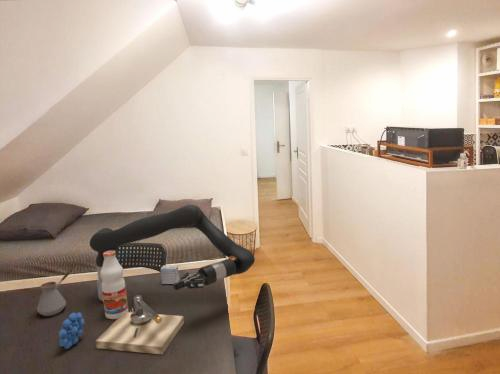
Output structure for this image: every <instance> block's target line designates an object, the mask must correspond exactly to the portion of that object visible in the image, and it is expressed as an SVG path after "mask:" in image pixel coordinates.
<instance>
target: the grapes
mask: <svg viewBox="0 0 500 374" xmlns="http://www.w3.org/2000/svg"><path fill="white" fill-rule="evenodd" d="M82 314H83V313H81V312H77V313H76V312H71V313H70V314H69V316H68V318H66V319H64V320H63V322H62V323H61V324H62V328H61V329H60V330H59V332H58V337H59V343H58V344H59V346H60V347H64V349H65V350H68V349H70V348H71V347H72V346H74V345H77V344H78V341H79V337H80V336H81V335H83V333H84V329H83V326H84V325H85V319H84V318H82V317H83V315H82Z"/></svg>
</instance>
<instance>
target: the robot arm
mask: <svg viewBox="0 0 500 374" xmlns="http://www.w3.org/2000/svg"><path fill="white" fill-rule="evenodd" d="M188 226H192V227H194V228H196V229H198V231H200V232H201V233H202V234H203V235H204V236H205V237H206V238H207V239H208V240H209V241H210V243H211V244H212V245H213V246H214V247H215V248H216V249H217V251H219V252H221V254H223V255H224V256H225V257H226V258H227V259H223V260H221V261H217V262H213V263H210V264H207V265H204V266H201V267H200V268H199V269H198V271H197V272H193V273H189V271H187V272H185V273H184V274H183V276H181V277H180V280H179V282H177V283H174V284H173V285H172V286H173V289H174V290H175V291H178V290H181V289H183V288H185V289H186V288H187V290H189V289H191V290H192V289H203V288H204V286H210V285H213V284H215V283H217V282H219V281H222V280H224V279H226V278H228V277H231V276H233V275H241V274H244V273H245V272H247V271H248V270H249V269H251V267H252V266H253V265H254V263H255V260H256V259H255V256H254V254H253V253H252V251H250V250H248V249H247V248H245V247H243V246H242V245H239V244H238V243H235V241H234V240H233V239H232V238H231V237H229V236H228V235H226V233H224V232H223V231H222V230H220V228H218V226H216V225H215V224H214V223H213V222H212V221H211V220H210V218H208V216H206V215H205V213H204V212H203V210H202V209H201V208H200V207H199V206H198V205H196V204H195V205H194V204H186V205H184V206H181V207H179V208H177V209H175V210H171V211H169V212H165V213H159V214H155V215H150V216H147V217H143V218H140V219H137V220H134V221H132V222H129V223H128V224H126V225H123V226H121V227H119V228H117V229H111V228H109V227H104V228H101V229H99V230H98V231H97V232H95V233H94V234H93V235H92V236H91V238H90V240H89V247H90V249H92V250H93V251H94V252H97V256H96V259H95V265H96V270H97V271H96V272H97V280H96V288H97V294H98V300H99V301H101V302H103V295H102V286H101V285H102V279H101V276H100V271H101V269H102V266H103V262H104V257H103V253H104V252H106V251H110V250H114V251H115V252H116V256H115V257H116V258H117V259H118V257H119V248H118V247H119V246H122V245H127V244H130V243H134V242H139V241H142V240H146V239H150V238H154V237H157V236H159V235H161V234H163V233H165V232H167V231H170V230H173V229H176V228H181V227H188ZM230 257H233V258H235V259H231V258H230Z"/></svg>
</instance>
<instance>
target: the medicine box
mask: <svg viewBox="0 0 500 374" xmlns="http://www.w3.org/2000/svg"><path fill="white" fill-rule="evenodd" d="M160 277H161V285H162V284H174V283H177V282H180V273H179V265H177V264H176V265H174V264H173V265H169V264H168V265H162V266H161V268H160Z"/></svg>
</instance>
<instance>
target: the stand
mask: <svg viewBox="0 0 500 374" xmlns="http://www.w3.org/2000/svg"><path fill="white" fill-rule="evenodd" d="M132 313H133V312H130V311H128V312H125V313H124V314H123V315H122V316H121V317H120V318H118V319H115V321H114V322H113V323H112V324H111V325H110V326H109V327H108V328H107V329H106V330H105V331H104V332H103V333H102V334H101V335H100V336H99V337H97V339H96V340H95V346H96V349H102V350H111V351H112V350H113V351H123V352H134V353H142V354H153V355H164V353H165V352H166V350H167V349H168V347H169V346H170V345H171V343H172V342H173V340H174V338H175V337H176V336H177V335H178V333H179V331H180V330H181V329H182V327H183V325H184V324H185V318H184V317H185V316H183V315H175V314H174V315H173V314H172V315H171V314H160V313H159V314H158V313H157V314H158V315H159V316H160V317H161V318H162V322H161V323H159V324H157V323H156V322H155V321H154V320H153V319H152V318H151V320H150V321H149V322H147V323H144V324H140V325H135V324H132V323H131V318H130V316H131V314H132Z"/></svg>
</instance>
